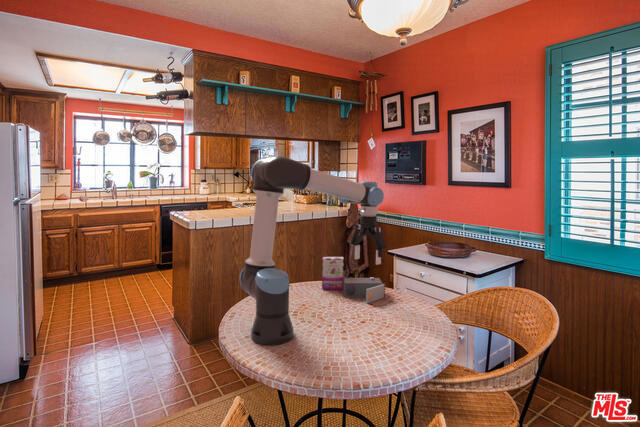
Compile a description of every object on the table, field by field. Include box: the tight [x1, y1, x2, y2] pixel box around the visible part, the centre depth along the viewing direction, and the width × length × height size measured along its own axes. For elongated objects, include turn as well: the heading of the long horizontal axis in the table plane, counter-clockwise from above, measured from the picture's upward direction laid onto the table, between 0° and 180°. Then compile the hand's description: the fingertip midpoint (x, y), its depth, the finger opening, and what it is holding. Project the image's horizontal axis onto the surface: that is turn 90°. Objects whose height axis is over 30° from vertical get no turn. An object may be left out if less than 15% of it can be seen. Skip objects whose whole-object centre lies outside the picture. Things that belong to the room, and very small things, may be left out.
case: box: [342, 276, 384, 298], centre depth 175 cm, size 18×11×8 cm, turn 91°
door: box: [365, 283, 386, 304], centre depth 167 cm, size 13×2×7 cm, turn 131°
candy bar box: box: [321, 256, 345, 291], centre depth 184 cm, size 11×5×16 cm, turn 88°
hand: (367, 261), depth 166 cm, fingers open, 12 cm apart
